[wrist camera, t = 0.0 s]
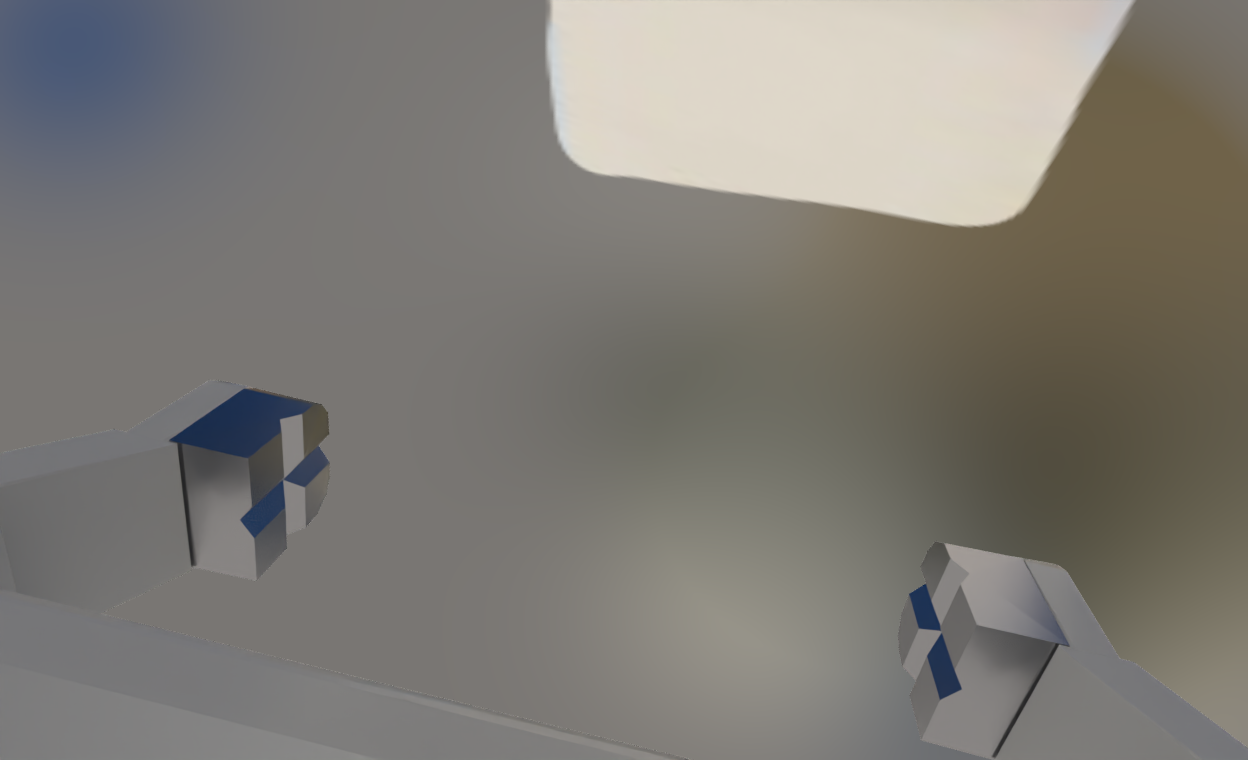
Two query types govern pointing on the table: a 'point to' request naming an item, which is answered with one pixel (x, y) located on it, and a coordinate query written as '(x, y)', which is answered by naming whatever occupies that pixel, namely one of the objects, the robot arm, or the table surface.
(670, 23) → the table surface
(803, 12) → the table surface
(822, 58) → the table surface
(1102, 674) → the robot arm
